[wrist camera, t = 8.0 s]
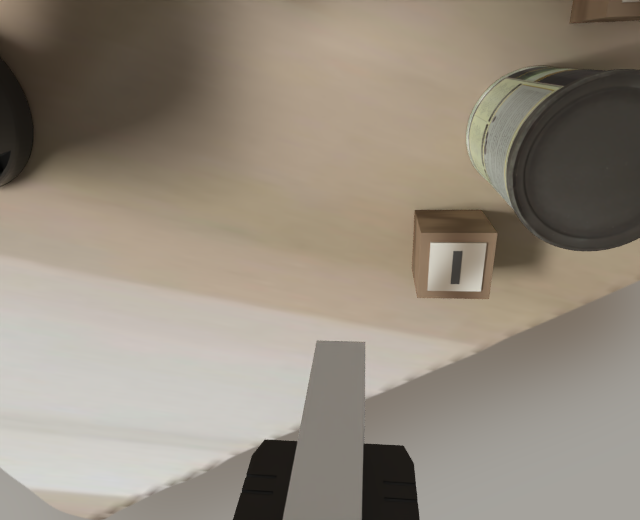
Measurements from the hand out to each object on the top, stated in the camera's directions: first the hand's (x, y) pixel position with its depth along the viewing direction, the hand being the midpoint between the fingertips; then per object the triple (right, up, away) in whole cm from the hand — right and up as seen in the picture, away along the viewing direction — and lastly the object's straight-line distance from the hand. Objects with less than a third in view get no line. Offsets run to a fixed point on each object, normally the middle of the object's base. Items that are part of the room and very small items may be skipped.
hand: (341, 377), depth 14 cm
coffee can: (+17, +15, +24) cm, 33 cm away
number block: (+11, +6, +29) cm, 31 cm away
